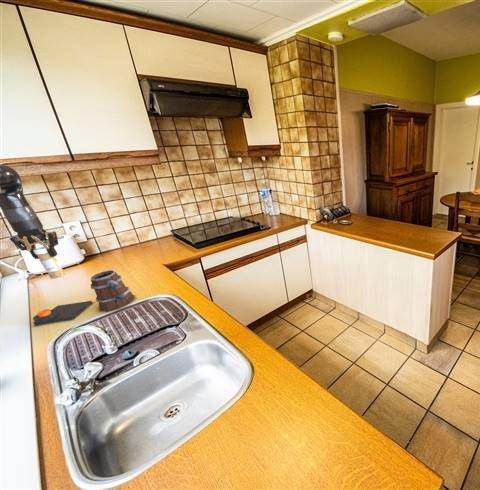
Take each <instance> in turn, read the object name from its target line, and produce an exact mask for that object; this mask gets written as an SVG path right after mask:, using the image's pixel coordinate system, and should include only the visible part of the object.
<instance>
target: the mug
mask: <svg viewBox="0 0 480 490" xmlns="http://www.w3.org/2000/svg"><path fill="white" fill-rule="evenodd" d="M122 280H123V278H122V275H121V274H118V273H117V271H115V270H105V271H104V270H103V271H101V272H98V273H95V274H94V275H92V276H91V277H90V282H91V283H90V289H92V290H94V293H95V295H96V297H95V302H96V303H98V308H99V310H100V311H103V312H110V311H113V310H117V309H120V308H122V307H125V306H126V305H129V304H130V303H132V301H133V300H134V299H135V296H134V295H133V292H132V291H131V290H130V287H129V286H126V285H125V283H124V282H123V281H122Z"/></svg>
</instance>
